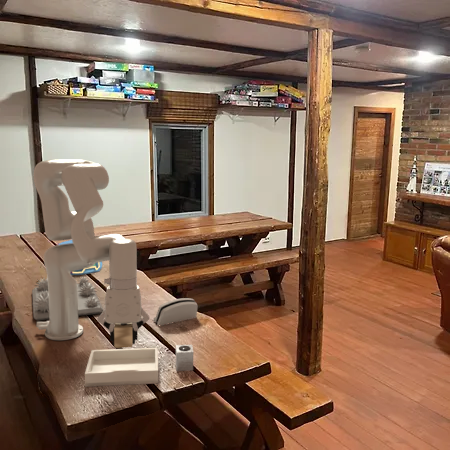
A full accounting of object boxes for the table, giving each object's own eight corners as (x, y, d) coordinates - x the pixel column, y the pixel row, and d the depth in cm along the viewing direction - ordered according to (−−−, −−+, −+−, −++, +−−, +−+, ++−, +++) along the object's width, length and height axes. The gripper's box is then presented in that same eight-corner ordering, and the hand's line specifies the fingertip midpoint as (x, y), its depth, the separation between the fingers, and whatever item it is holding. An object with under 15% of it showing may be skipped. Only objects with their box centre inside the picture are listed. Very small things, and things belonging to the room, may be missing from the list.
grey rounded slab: (190, 313, 181) (195, 293, 176) (195, 320, 178) (201, 300, 173) (152, 321, 171) (156, 300, 167) (157, 329, 168) (162, 308, 164)
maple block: (114, 347, 129) (114, 327, 128) (115, 340, 134) (115, 320, 133) (132, 347, 130) (132, 327, 129) (133, 339, 135) (132, 320, 134)
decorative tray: (103, 315, 176) (103, 291, 174) (31, 324, 166) (30, 298, 164) (91, 287, 208) (91, 266, 206) (30, 293, 197) (29, 271, 196)
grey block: (176, 371, 136) (176, 352, 135) (175, 363, 141) (175, 344, 140) (193, 370, 137) (193, 351, 136) (191, 362, 142) (192, 344, 140)
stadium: (57, 258, 254) (56, 233, 251) (102, 256, 260) (101, 232, 257) (51, 276, 221) (50, 248, 218) (102, 274, 227) (102, 246, 224)
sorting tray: (85, 386, 126) (84, 373, 125) (91, 362, 139) (91, 350, 138) (158, 383, 129) (158, 370, 128) (157, 359, 142) (157, 347, 142)
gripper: (90, 287, 124) (92, 349, 127) (153, 286, 126) (153, 347, 130) (93, 279, 131) (95, 338, 134) (153, 278, 134) (153, 336, 137)
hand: (124, 341), depth 132 cm, fingers closed on maple block, 5 cm apart
